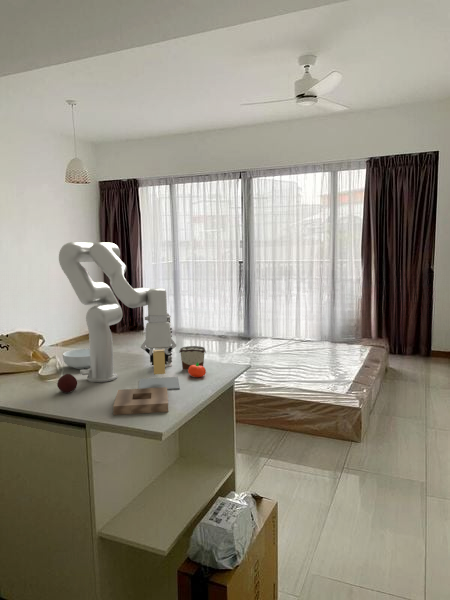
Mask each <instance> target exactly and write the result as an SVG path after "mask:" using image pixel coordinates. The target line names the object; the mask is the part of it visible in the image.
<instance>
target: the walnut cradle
mask: <svg viewBox="0 0 450 600" xmlns="http://www.w3.org/2000/svg"><path fill="white" fill-rule="evenodd" d="M112 405H113V406H112V408H113V409H112V410H113V413H112V414H113V416H120V415H123V416H124V415H137V414H155V413H168V412H169V396H168V390H167V387H161V388H142V389H138V388H127V389H122V388H121V389H117V392H116V396H115V399H114V402H113V404H112Z"/></svg>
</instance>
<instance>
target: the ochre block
mask: <svg viewBox="0 0 450 600" xmlns="http://www.w3.org/2000/svg"><path fill="white" fill-rule="evenodd" d="M153 362H154V365H153V375H166V367H165V351H164V350H155V349H153Z"/></svg>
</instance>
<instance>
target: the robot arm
mask: <svg viewBox="0 0 450 600" xmlns="http://www.w3.org/2000/svg"><path fill="white" fill-rule="evenodd" d="M120 257H121V250H120V248H119V246H118V245H117V244H115V243H113V242H109V241H108V242H105V241H104V242H103V241H102V242H101V241H99V242H89V241H88V242H87V241H86V242H85V241H82V242H81V241H71V242H67V243H64V244H63V245H62V247H60V250H59V251H58V263H59V266H60V267H61V270H62V272H63V273H64V275H65V276H66V278H67V280H68V281H69V283H70V285H71V287H72V289H73V291H74V293H75V295H76V296H77V298H78V301H79V302H80V303H81V304H82V305H84V306H92V307H90V308H89V309H88V311H87V312H86V315H85V321H86V325H87V329H88V338H89V339H88V340H89V342H88V343H89V349H90V367H89V368H87V369H79V374H80V375H82V376H86V380H87V381H88V382H91V383H105V382H111V381H115V380H116V379H118V377H119V375H118V374H117V372H115V371H114V347H113V344H114V343H113V340H114V339H113V333H112V330H111V329H110V326H112V325H116V324H118V323H120V322H121V321H122V318H123V315H124V314H123V309H122V307H121V305H120V303H119V301H118V300H120V301H121V303H122V304H124V306H126V307H127V308H131V309H135V308H139V307H140V308H141V307H145V306H147V315H146V316H144V321H147V322H146V324H145V338H144V340H143V342H142V344H141V346H140V348H141V349H142V350H143V351H145V352H146V353H147V354H148V355H149V362H150V363H151V365H152V366H154V362H153V350H154V349H155V348H164V349H165V364H167V363H166V362H168V354H169V352H170V351H171V350H172V351H173V349H175V348H176V347H177V343H176V342H175V341H174V340H173V338H172V337H171V335H172V333H171V331H172V330H170V328H171V326H170V324H169V322H167V313H168V309H167V308H168V307H167V306H168V305H167V304H168V303H167V302H168V301H167V298H168V297H167V291H166V289H165V288H161V287H160V288H158V287H157V288H156V287H155V288H149V287H135V288H133V287H132V285H130V284H129V282H128V281H127V279H126V278H125V273H126V271H127V265H126V264H125V262H123V261H122V260H121V258H120ZM92 262H94V263H95V264H96V265H97V266H98V267H99V268H100V270H101V271H102V272H103V273H104V274H105V275H106V276H107V277H108V279H109V283H110V285H108V284H107V283H105V282H103V281H94V280H93V278H92V277H91V276H90V274H89V272H88V270H87V269H86V268H85V267H84V266H83V265H82V264H81V263H92ZM110 286H111V287H110ZM117 298H118V299H117ZM170 346H171V347H170ZM167 347H169V348H167Z"/></svg>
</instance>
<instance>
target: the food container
mask: <svg viewBox="0 0 450 600" xmlns="http://www.w3.org/2000/svg"><path fill="white" fill-rule="evenodd" d="M178 353H179V354H180V358H181V360H180V361H181V367H182V371H188V369H189V367H190V366H191V365H196V364H197V363H198V364H199V366H203V367H204V363H205V354H207V352H206V348H205V347H203V346H201V345H200V346H199V345H198V346H197V345H190V346H189V345H188V346H182V347H180V348H179V352H178Z"/></svg>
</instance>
